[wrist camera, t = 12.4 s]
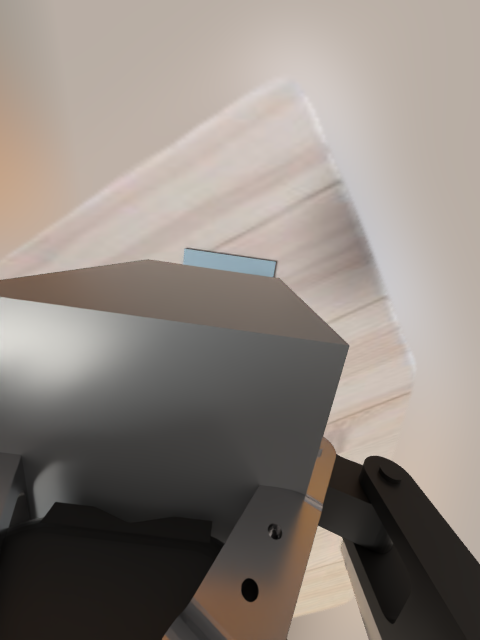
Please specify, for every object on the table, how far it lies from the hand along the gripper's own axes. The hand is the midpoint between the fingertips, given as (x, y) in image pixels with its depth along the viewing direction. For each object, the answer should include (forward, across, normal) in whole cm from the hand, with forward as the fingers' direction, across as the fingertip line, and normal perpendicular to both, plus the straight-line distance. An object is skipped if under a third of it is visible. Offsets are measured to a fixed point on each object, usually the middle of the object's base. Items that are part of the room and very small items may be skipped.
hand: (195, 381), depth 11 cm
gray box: (+3, 0, 0) cm, 3 cm away
